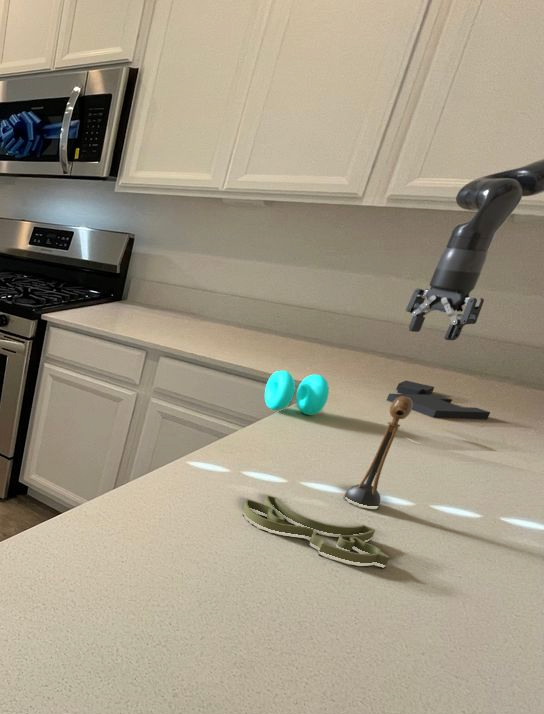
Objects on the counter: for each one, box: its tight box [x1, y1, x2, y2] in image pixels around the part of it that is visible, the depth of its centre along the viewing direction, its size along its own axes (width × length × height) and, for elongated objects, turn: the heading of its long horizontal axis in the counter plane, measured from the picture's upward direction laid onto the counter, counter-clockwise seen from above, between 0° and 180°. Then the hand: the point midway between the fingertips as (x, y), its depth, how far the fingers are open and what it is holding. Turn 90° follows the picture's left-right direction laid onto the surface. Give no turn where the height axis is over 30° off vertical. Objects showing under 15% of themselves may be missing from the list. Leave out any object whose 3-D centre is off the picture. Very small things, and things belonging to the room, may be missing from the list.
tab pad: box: [395, 380, 435, 395], centre depth 160 cm, size 9×6×4 cm, turn 122°
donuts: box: [264, 369, 330, 416], centre depth 144 cm, size 10×10×10 cm
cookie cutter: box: [243, 494, 390, 566], centre depth 91 cm, size 18×12×2 cm, turn 46°
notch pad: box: [386, 393, 491, 420], centre depth 147 cm, size 14×12×4 cm
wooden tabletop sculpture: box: [344, 396, 413, 507], centre depth 98 cm, size 6×5×20 cm
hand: (431, 335), depth 143 cm, fingers open, 8 cm apart
